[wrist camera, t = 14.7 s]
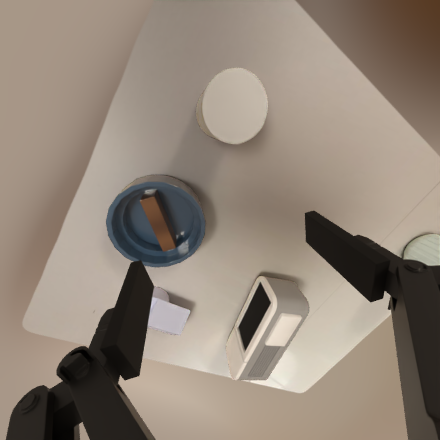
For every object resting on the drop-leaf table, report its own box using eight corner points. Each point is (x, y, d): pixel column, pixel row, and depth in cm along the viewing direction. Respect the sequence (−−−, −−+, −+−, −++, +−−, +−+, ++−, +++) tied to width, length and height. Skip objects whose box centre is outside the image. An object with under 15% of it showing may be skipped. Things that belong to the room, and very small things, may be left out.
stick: (143, 193, 38) (139, 200, 35) (156, 189, 39) (154, 196, 35) (164, 241, 43) (163, 252, 40) (176, 238, 43) (176, 248, 40)
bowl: (100, 188, 38) (86, 198, 32) (188, 163, 38) (189, 169, 33) (137, 259, 45) (131, 277, 39) (210, 237, 46) (214, 252, 40)
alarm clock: (257, 268, 52) (277, 305, 41) (289, 274, 54) (315, 310, 44) (223, 342, 61) (232, 388, 51) (251, 343, 64) (265, 387, 53)
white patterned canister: (185, 110, 35) (187, 104, 24) (221, 73, 33) (240, 49, 23) (217, 148, 38) (231, 157, 27) (251, 116, 37) (279, 112, 26)
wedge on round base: (190, 299, 52) (142, 280, 47) (191, 322, 46) (136, 303, 41) (171, 322, 54) (123, 307, 50) (170, 347, 48) (115, 332, 44)
